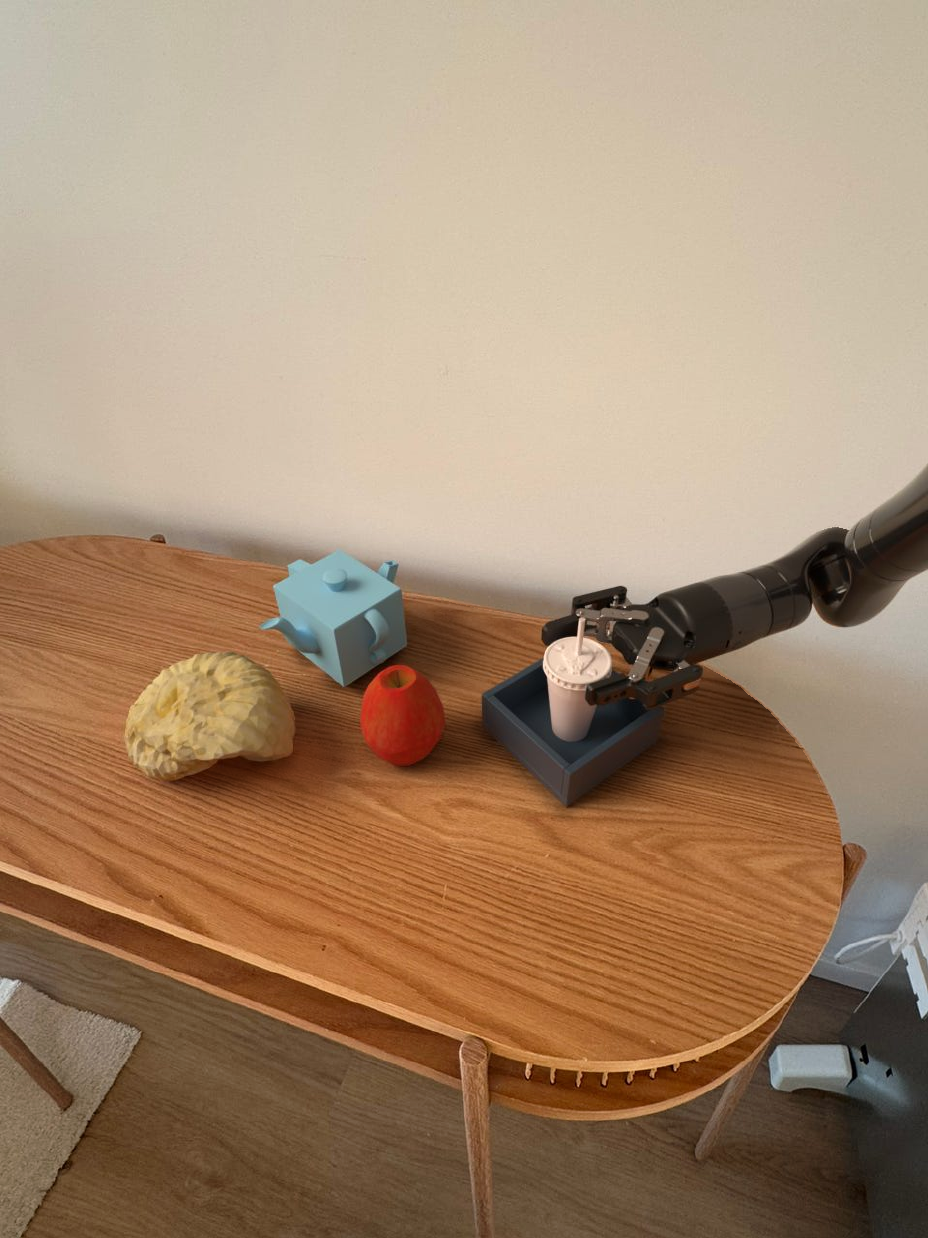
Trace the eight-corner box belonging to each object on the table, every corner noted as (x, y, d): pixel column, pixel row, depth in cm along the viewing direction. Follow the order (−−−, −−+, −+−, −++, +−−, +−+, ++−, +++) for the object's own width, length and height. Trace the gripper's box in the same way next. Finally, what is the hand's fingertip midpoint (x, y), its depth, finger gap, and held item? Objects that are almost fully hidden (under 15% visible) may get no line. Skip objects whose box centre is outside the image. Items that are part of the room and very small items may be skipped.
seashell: (246, 694, 83) (107, 739, 74) (245, 614, 77) (94, 653, 68) (322, 787, 73) (171, 853, 64) (327, 704, 67) (163, 763, 58)
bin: (657, 741, 74) (665, 708, 70) (566, 808, 68) (570, 774, 65) (570, 672, 81) (573, 639, 78) (481, 726, 76) (481, 693, 72)
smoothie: (603, 708, 76) (619, 604, 67) (600, 756, 71) (617, 652, 62) (541, 700, 77) (549, 597, 68) (535, 748, 72) (542, 644, 63)
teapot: (445, 646, 85) (441, 569, 77) (321, 733, 75) (302, 654, 68) (359, 588, 93) (348, 513, 86) (237, 660, 84) (213, 583, 76)
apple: (463, 746, 74) (460, 671, 67) (401, 795, 69) (391, 720, 62) (409, 704, 78) (401, 629, 71) (348, 747, 74) (333, 673, 67)
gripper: (673, 548, 74) (531, 589, 70) (768, 634, 64) (609, 688, 60) (662, 605, 79) (528, 646, 75) (748, 692, 69) (599, 746, 65)
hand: (564, 665), depth 67 cm, fingers open, 8 cm apart
